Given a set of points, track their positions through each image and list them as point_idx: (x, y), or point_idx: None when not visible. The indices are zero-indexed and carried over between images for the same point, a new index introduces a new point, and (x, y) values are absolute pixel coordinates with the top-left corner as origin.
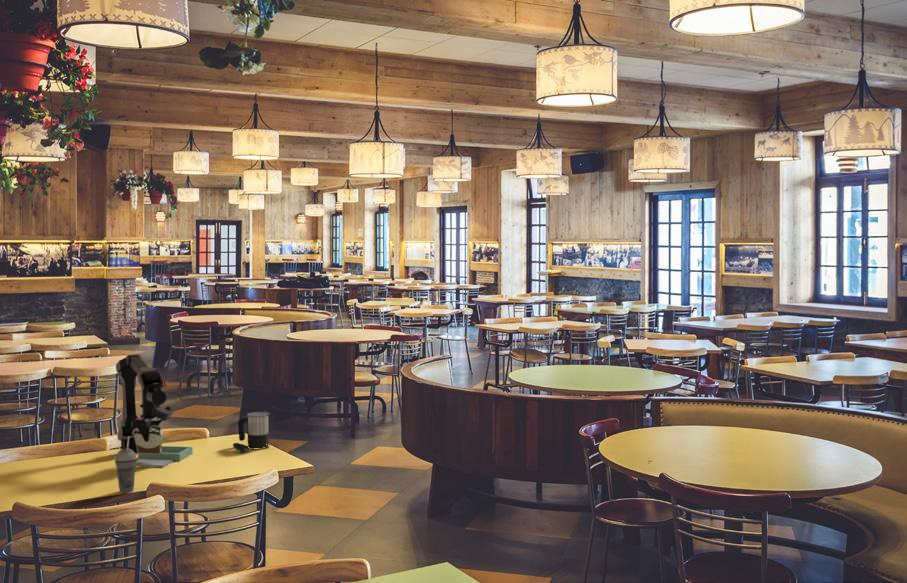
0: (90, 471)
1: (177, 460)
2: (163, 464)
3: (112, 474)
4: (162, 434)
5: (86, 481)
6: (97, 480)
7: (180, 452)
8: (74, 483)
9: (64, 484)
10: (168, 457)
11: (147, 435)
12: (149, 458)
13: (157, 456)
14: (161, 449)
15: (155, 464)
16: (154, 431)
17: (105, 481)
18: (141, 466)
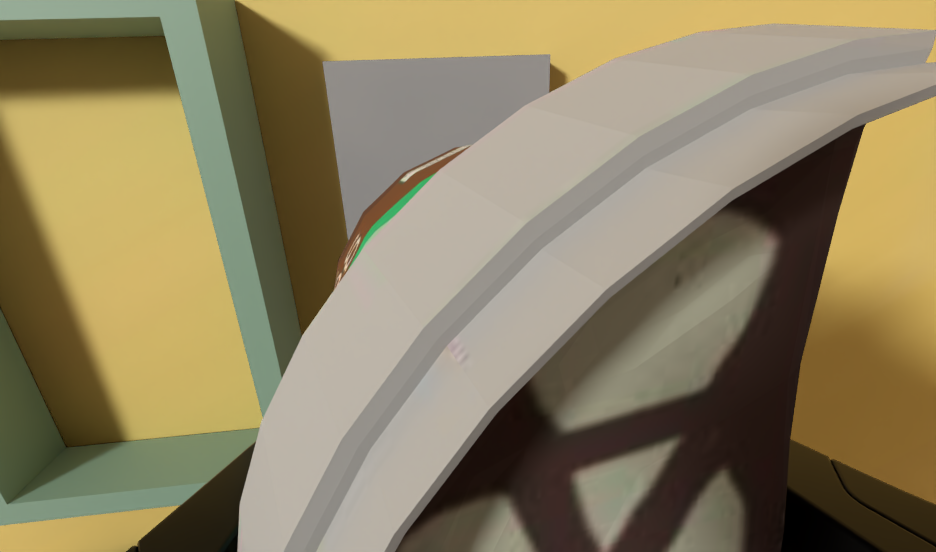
0: None
1: (240, 33)
2: (522, 67)
3: None
4: (683, 41)
5: (897, 431)
6: (889, 384)
7: (113, 2)
8: (925, 466)
9: (932, 499)
10: (253, 156)
11: (790, 445)
12: None
13: (277, 290)
14: (436, 160)
15: None
16: (705, 409)
17: (928, 320)
18: None
